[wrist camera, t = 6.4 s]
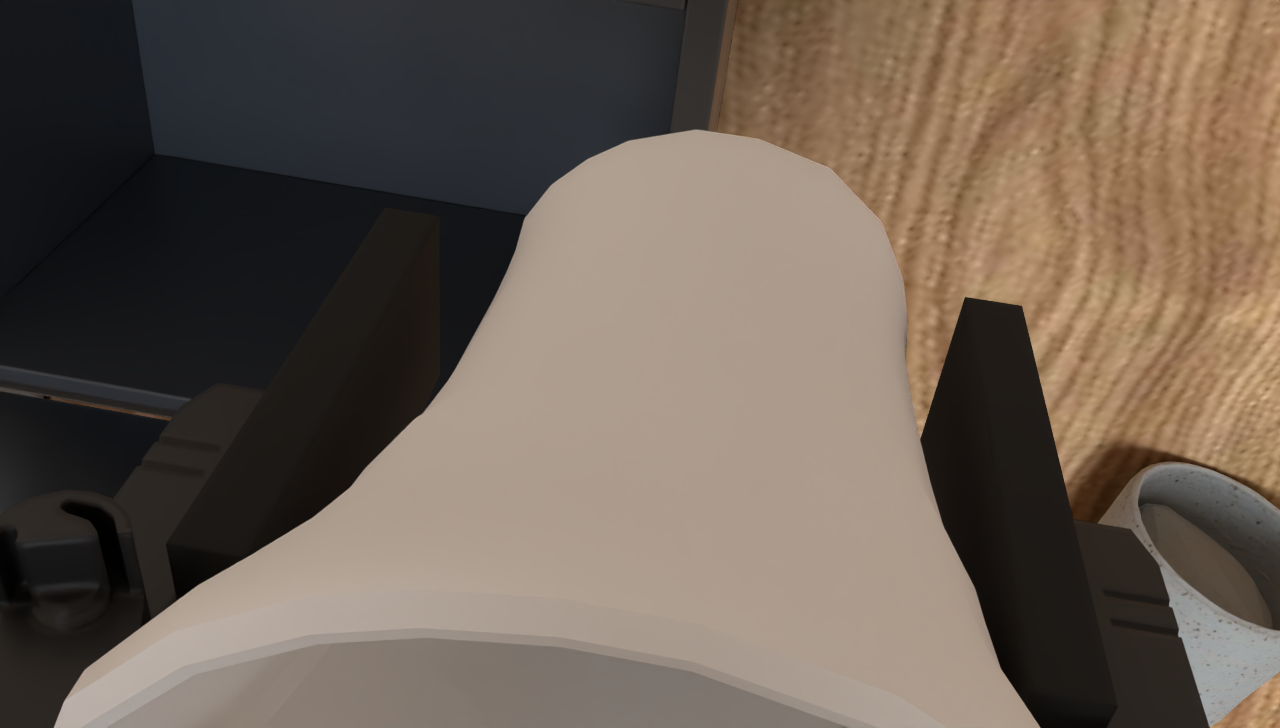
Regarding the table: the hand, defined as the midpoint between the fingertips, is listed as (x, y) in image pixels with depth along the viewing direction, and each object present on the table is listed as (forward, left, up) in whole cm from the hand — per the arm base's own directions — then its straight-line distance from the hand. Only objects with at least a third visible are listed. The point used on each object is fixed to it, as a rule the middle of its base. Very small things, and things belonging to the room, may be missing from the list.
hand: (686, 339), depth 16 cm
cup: (0, 0, -1) cm, 1 cm away
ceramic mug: (+20, +20, -22) cm, 36 cm away
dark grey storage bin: (+4, -10, -21) cm, 24 cm away
